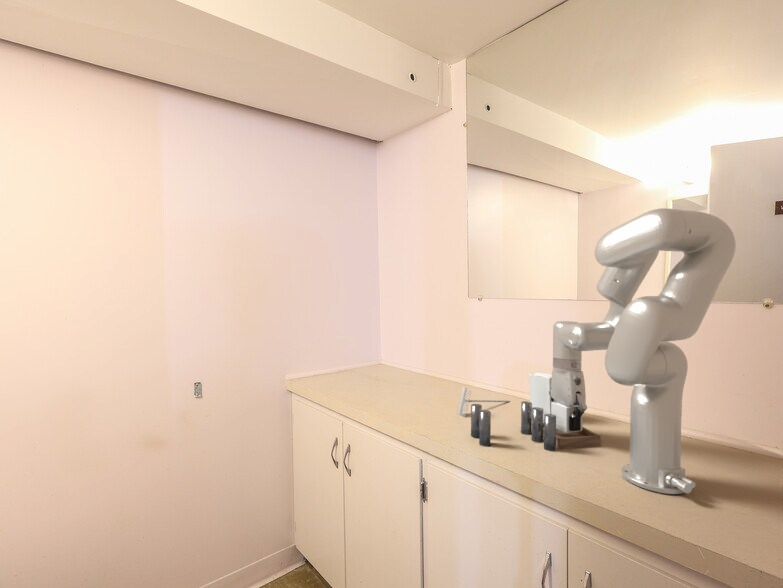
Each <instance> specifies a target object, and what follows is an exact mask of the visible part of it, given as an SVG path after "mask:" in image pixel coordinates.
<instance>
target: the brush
mask: <svg viewBox="0 0 783 588" xmlns="http://www.w3.org/2000/svg"><path fill="white" fill-rule="evenodd" d="M471 394H472V391H471V390H469V389H468V388H467V387H462V391H461V395H460V400H459V404H458V409H457V414H456V415H458V416H461V417H464V418H465V417H467V412H468V409H469V403H510V402H511V400H505V399H504V400H500V399H498V400H497V399H495V400H494V399H493V400H491V399H490V400H486V399H484V400H483V399H482V400H481V399H470V398H471Z"/></svg>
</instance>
